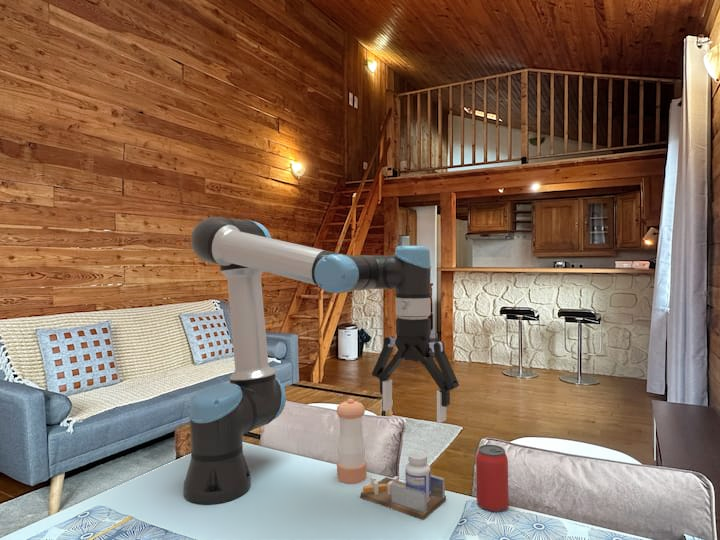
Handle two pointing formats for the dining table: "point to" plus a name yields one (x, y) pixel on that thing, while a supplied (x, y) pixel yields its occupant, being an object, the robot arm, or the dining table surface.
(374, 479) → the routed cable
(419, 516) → the board
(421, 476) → the pill bottle
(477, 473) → the beer can
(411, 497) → the end holder
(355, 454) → the pepper shaker
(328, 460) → the dining table surface
